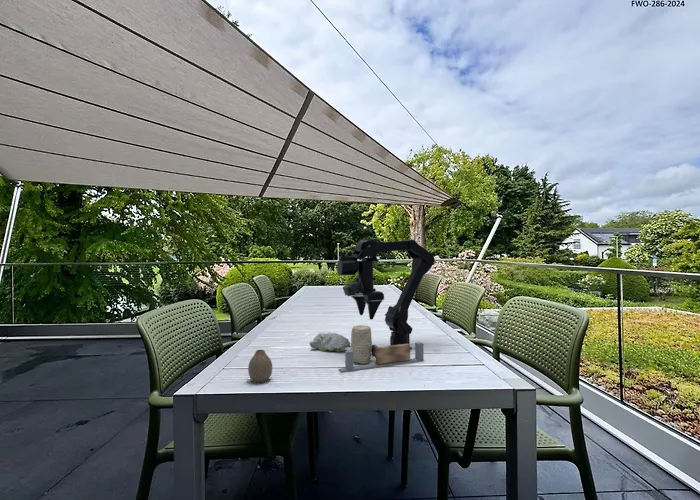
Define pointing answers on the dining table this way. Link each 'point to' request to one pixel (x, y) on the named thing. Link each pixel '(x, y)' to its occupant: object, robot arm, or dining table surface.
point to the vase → (260, 367)
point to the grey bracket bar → (350, 364)
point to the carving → (361, 343)
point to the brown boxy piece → (391, 353)
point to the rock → (330, 342)
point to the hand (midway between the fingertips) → (366, 317)
